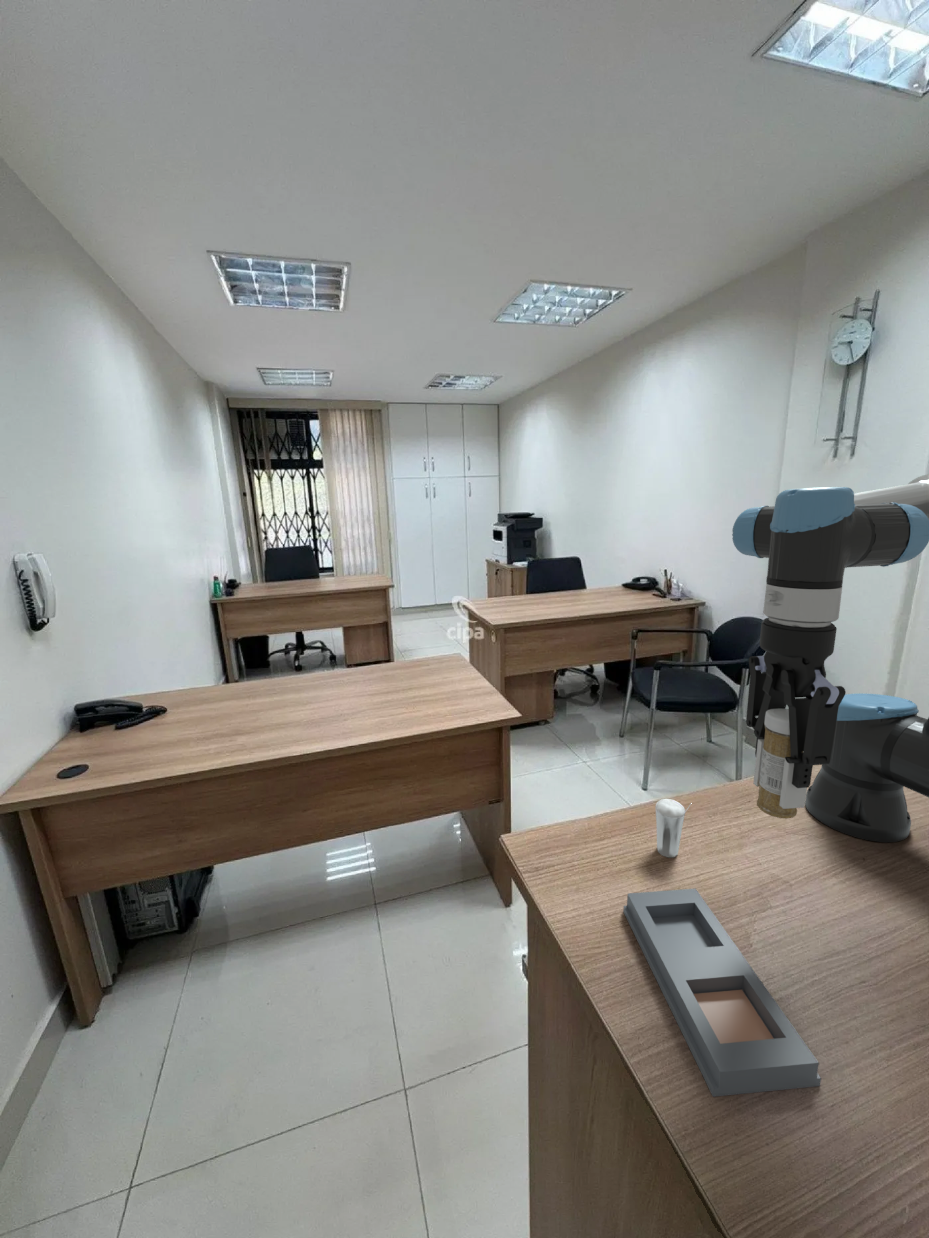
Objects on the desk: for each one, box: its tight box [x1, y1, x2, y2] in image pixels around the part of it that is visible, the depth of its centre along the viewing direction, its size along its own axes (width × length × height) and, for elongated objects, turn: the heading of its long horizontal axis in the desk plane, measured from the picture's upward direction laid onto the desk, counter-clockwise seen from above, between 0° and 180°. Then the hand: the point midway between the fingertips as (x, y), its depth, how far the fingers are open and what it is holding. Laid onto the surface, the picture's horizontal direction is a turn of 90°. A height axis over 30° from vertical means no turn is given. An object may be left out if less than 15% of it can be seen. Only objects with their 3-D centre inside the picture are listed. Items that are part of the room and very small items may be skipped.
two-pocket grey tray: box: [622, 888, 822, 1098], centre depth 59 cm, size 11×23×3 cm, turn 4°
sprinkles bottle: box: [756, 708, 798, 820], centre depth 63 cm, size 5×5×13 cm
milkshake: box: [655, 798, 692, 859], centre depth 82 cm, size 5×5×10 cm
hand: (777, 794), depth 64 cm, fingers closed on sprinkles bottle, 4 cm apart
